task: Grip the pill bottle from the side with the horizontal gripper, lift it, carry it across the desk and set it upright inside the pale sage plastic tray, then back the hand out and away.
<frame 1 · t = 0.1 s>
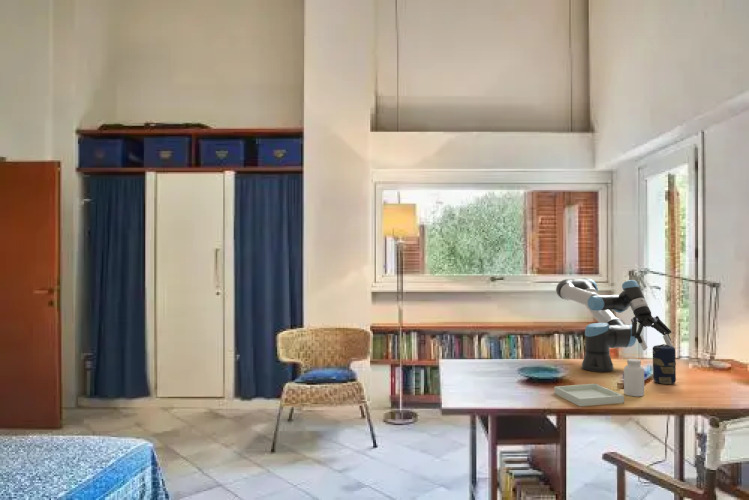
hand: (658, 348, 264), 15 cm above the table, tool tilted 35°, fingers open, 13 cm apart
canister: (664, 383, 260), on the table
pill bottle: (634, 394, 241), on the table
tray: (588, 397, 237), on the table
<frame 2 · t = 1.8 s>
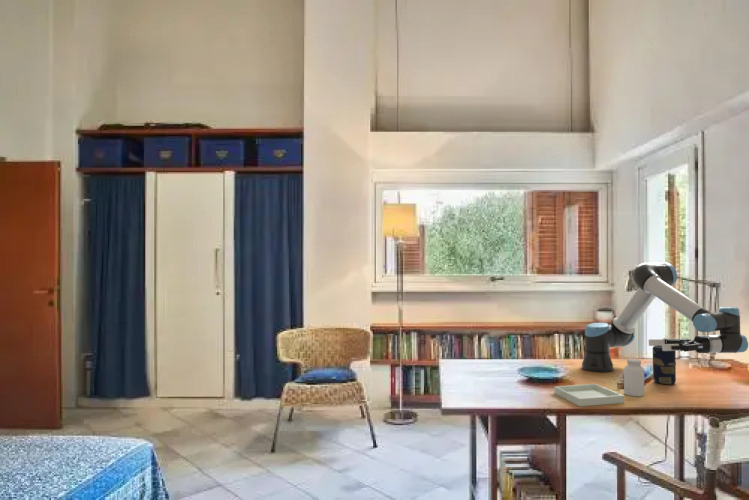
hand: (655, 345, 241), 21 cm above the table, tool horizontal, fingers open, 13 cm apart
nothing on the table moved.
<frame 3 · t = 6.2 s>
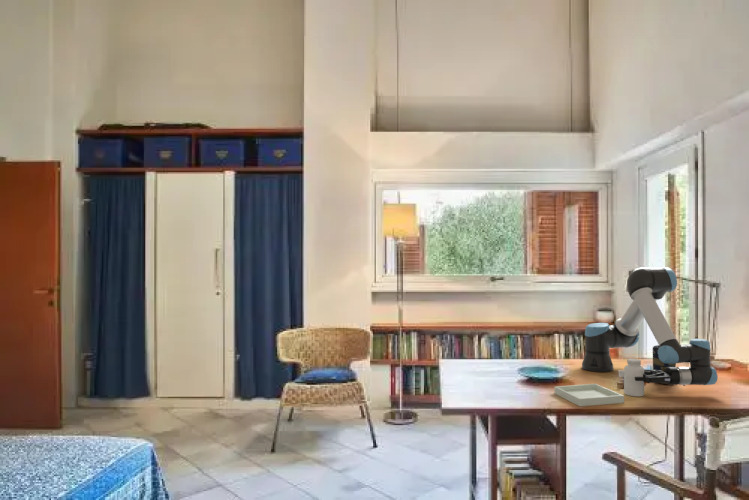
hand: (622, 375, 242), 8 cm above the table, tool horizontal, fingers closed on pill bottle, 8 cm apart
pill bottle: (634, 394, 241), on the table, touching gripper
everything else where it was.
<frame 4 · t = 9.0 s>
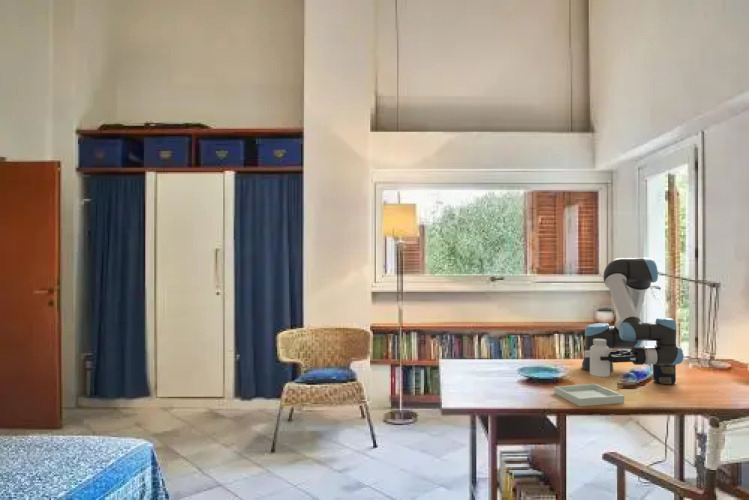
hand: (588, 356, 237), 18 cm above the table, tool horizontal, fingers closed on pill bottle, 8 cm apart
pill bottle: (600, 375, 237), point 10 cm above the table, touching gripper
everything else where it was.
when the fingers open (10 cm above the table, at t = 11.6 s): pill bottle drops 1 cm, resting on tray.
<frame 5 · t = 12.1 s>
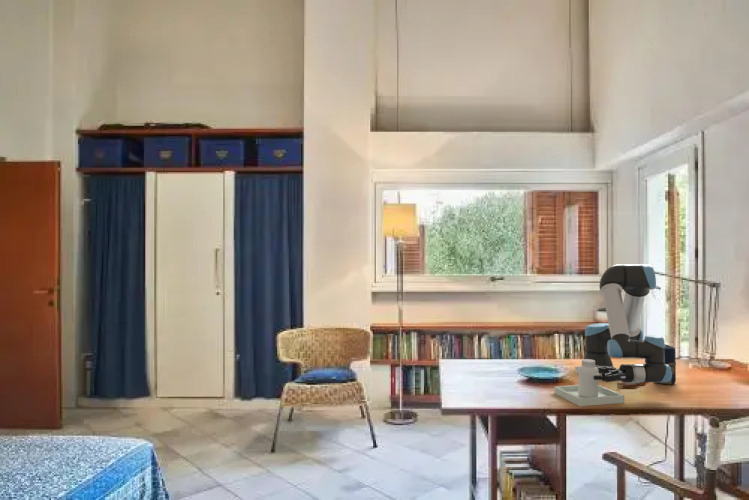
hand: (579, 373, 237), 10 cm above the table, tool horizontal, fingers open, 13 cm apart
pill bottle: (588, 395, 237), point 1 cm above the table, touching tray
everything else where it was.
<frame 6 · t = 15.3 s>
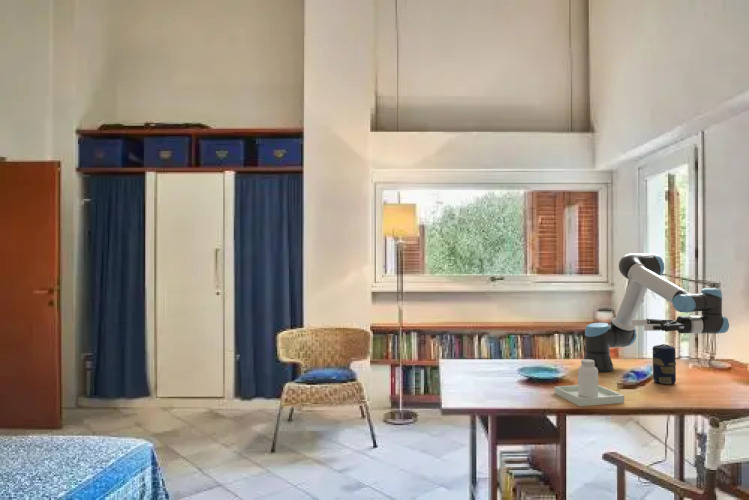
hand: (637, 324, 244), 30 cm above the table, tool horizontal, fingers open, 13 cm apart
nothing on the table moved.
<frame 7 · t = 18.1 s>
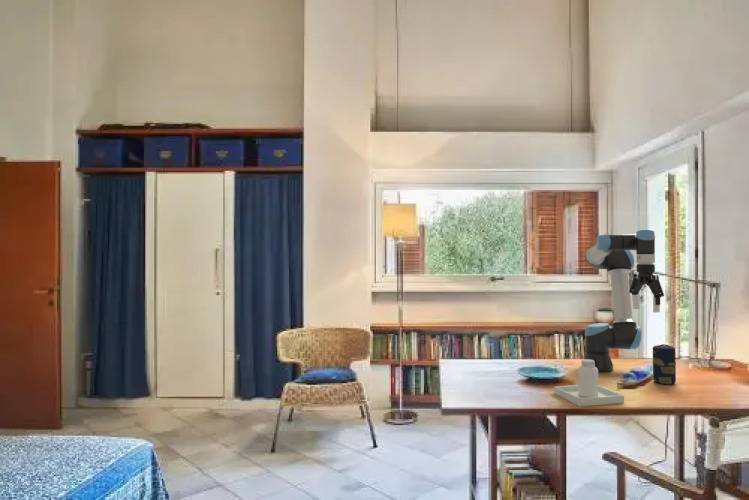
hand: (646, 310, 252), 35 cm above the table, tool pointing down, fingers open, 13 cm apart
nothing on the table moved.
at the end: pill bottle inside the target area on the tray (0.1 cm from its centre), point 0.8 cm above the tray's base; pill bottle tilted 0°; the gripper is holding nothing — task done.
